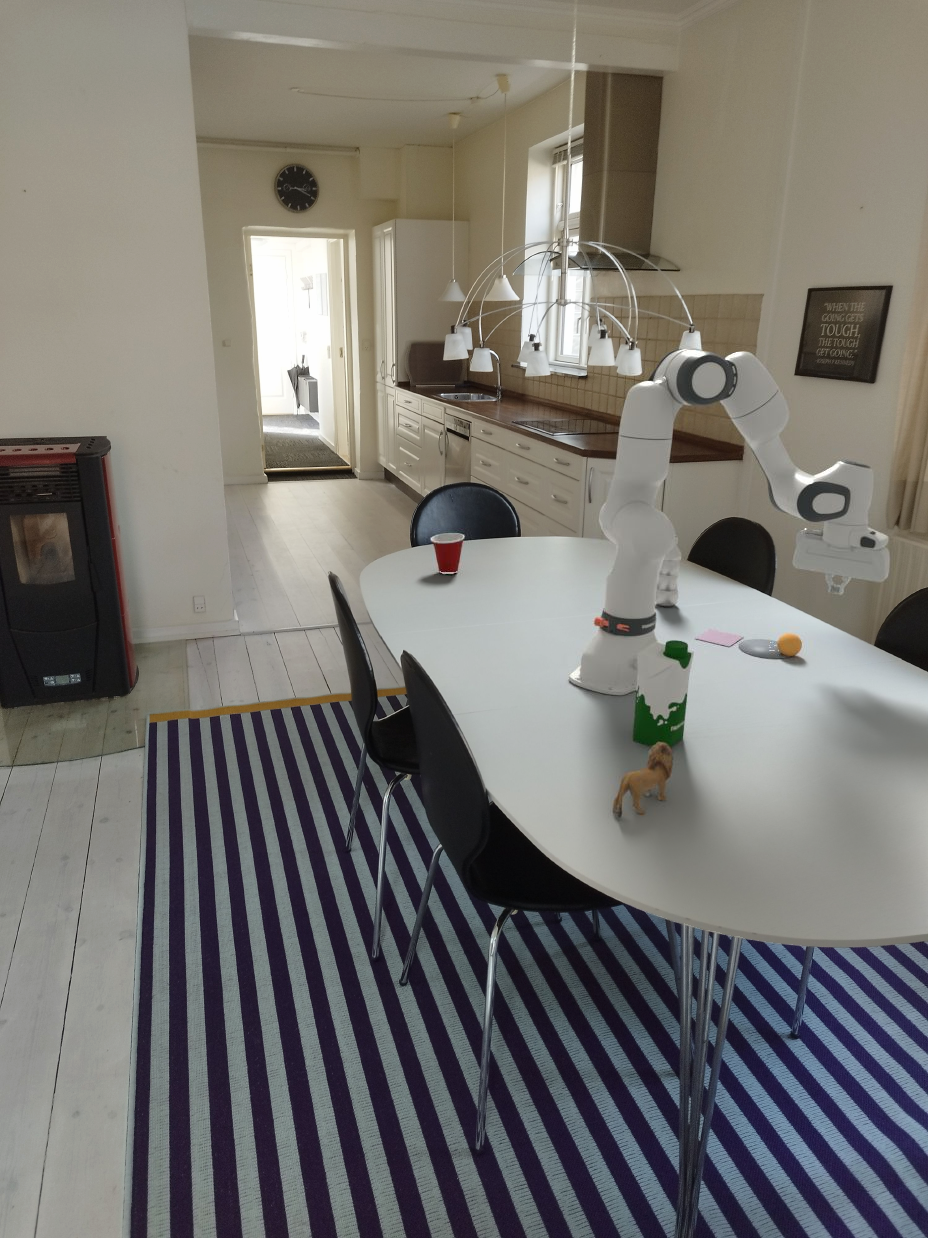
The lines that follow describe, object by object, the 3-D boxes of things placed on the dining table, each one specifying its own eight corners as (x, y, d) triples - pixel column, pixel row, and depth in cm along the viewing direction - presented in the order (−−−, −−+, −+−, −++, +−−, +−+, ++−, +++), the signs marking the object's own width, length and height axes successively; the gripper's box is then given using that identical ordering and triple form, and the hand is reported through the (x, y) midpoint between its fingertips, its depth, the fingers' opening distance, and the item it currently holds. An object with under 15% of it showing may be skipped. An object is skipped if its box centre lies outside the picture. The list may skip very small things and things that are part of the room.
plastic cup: (426, 569, 276) (426, 533, 272) (458, 567, 279) (458, 531, 275) (435, 578, 266) (435, 541, 262) (468, 576, 269) (469, 538, 265)
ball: (774, 640, 202) (776, 659, 205) (799, 641, 200) (800, 661, 202) (778, 628, 206) (780, 647, 209) (803, 629, 204) (804, 648, 206)
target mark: (783, 663, 200) (783, 662, 200) (729, 650, 208) (730, 649, 208) (802, 647, 210) (802, 647, 210) (750, 636, 218) (750, 635, 218)
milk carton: (668, 755, 157) (678, 653, 151) (625, 740, 163) (632, 642, 156) (689, 738, 164) (699, 640, 157) (647, 724, 169) (654, 629, 163)
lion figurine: (649, 781, 148) (653, 734, 145) (677, 791, 145) (682, 744, 142) (604, 816, 138) (608, 766, 135) (633, 828, 134) (637, 777, 132)
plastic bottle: (678, 609, 238) (684, 539, 232) (653, 607, 239) (658, 538, 233) (677, 602, 244) (683, 534, 238) (653, 601, 245) (658, 533, 239)
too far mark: (729, 647, 210) (729, 646, 210) (695, 639, 216) (695, 638, 216) (743, 637, 217) (743, 636, 217) (710, 629, 222) (710, 629, 222)
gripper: (792, 529, 195) (785, 587, 199) (888, 543, 182) (878, 605, 187) (802, 524, 199) (794, 581, 204) (896, 538, 187) (886, 598, 191)
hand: (835, 593), depth 195 cm, fingers closed
